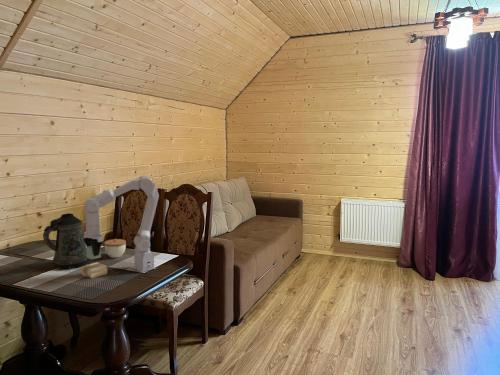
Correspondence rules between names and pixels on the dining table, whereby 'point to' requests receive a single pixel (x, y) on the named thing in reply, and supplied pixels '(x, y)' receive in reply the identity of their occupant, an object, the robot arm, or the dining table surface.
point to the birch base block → (94, 270)
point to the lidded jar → (115, 247)
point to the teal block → (90, 253)
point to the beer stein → (67, 242)
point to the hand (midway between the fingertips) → (93, 254)
